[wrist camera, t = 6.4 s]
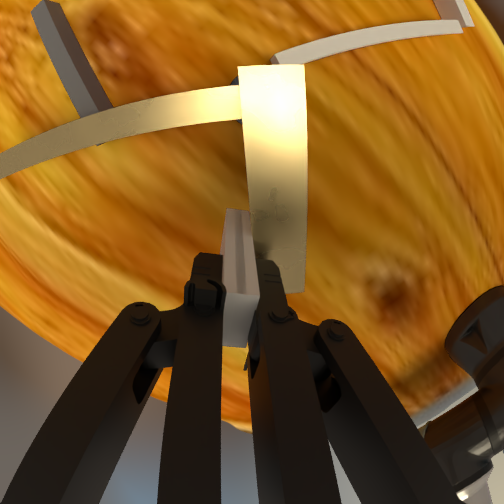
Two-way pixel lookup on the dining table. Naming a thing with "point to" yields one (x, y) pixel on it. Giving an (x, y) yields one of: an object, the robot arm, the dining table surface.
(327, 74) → the dining table surface
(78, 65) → the kerb
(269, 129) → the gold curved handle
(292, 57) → the beige rectangular bars
